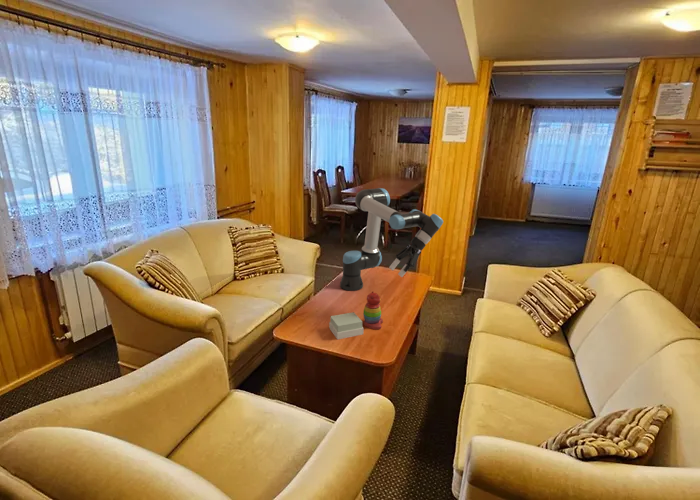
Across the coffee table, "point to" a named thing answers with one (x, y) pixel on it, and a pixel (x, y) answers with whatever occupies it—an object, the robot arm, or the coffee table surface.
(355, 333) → the tower base
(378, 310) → the stacking bear
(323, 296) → the coffee table surface
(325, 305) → the coffee table surface
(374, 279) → the coffee table surface
